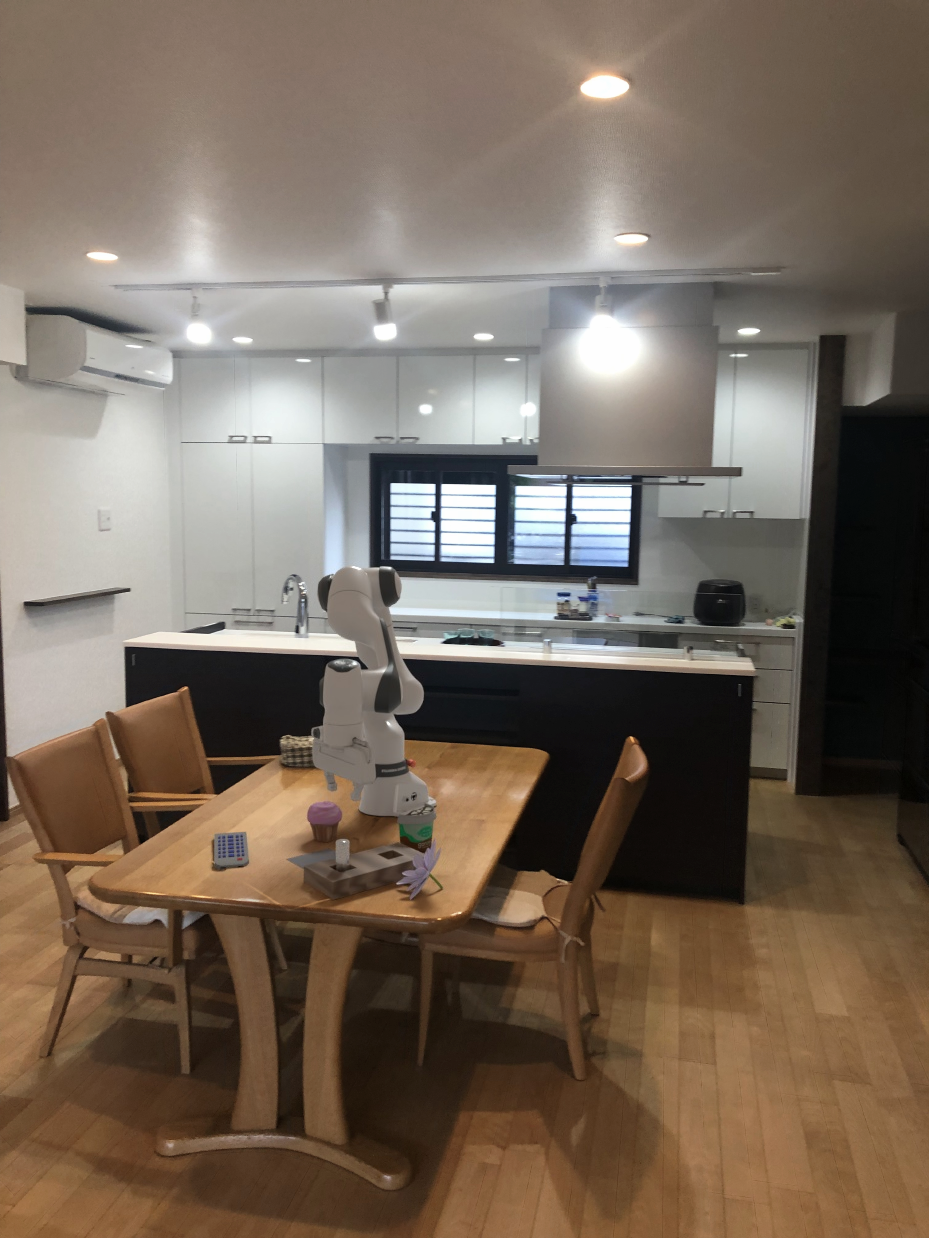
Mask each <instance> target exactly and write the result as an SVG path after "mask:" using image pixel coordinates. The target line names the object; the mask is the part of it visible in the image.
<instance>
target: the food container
mask: <svg viewBox="0 0 929 1238" xmlns="http://www.w3.org/2000/svg"><path fill="white" fill-rule="evenodd" d="M437 817H438V816H437V813H436V809H435V806H432V805H430V804H426V803H425V804H424V807H423V808H421V809H418V810H413V811H411V812H410V813H408V814H407V815H400V814H399V816H398V817H397V821H396V822H397V824H398V830H399V832H398V833H399V843H401V844H403V845H406V846H408V847H410V848H412V849H415V850H417V851H419V852H421V853H423V854H425V852H426V850H427V848H429V849H431V845H432V843H433V831H434V821H435V820H436V819H437Z"/></svg>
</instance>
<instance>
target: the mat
mask: <svg viewBox="0 0 929 1238" xmlns="http://www.w3.org/2000/svg"><path fill="white" fill-rule="evenodd" d="M334 858H336V850H334V849H331V848H325V849H322V850H321V849H320V850H316V851H313V852H309V853H306V854H305V853H304V854H300V855H297V856H292V857H289V858H286V861H289V862H290V863H292V864H294V865H295V866H298V867H299V868H301V869H303V870H304V866H306V865H310V864H314V863H318V862H322V861H326V860H330V859H334Z"/></svg>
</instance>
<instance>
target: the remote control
mask: <svg viewBox="0 0 929 1238" xmlns="http://www.w3.org/2000/svg"><path fill="white" fill-rule="evenodd" d="M247 834H248V833H247V831H238V832H237V831H235V832H222V833H221V832H220V833H214V835H213V836H214V837H213V839H214V845H213V846H214V847H213V849H214V852H213V854H214V856H213V859H214V860H213V861H214V864H213V865H214V867H215V869H216V870H218V869H219V871H226V869H230V868H231V869H233V868H238V867H247V866H248V865H249V864H250V856H249V855H250V854H249V845H248V837H247Z"/></svg>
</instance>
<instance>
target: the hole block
mask: <svg viewBox="0 0 929 1238" xmlns="http://www.w3.org/2000/svg"><path fill="white" fill-rule="evenodd" d="M416 854H419V855H421V856H422V858H423V859H424V855H425V853H421V852H419V851H417V850H415V849H412V848H410V847H408V846H406V845H403V844H401V843H400V841H398V842H393V843H388V844H386V845H385V844H384V845H381V846H377V847H373V848H370V849H365V850H362V851H357V852H354V853H349V870H348V871H344V872H338V871H336V858H334V859H330V860H326V861H322V862H318V863H314V864H310V865H306V866H304V869H303V883H305V884H307V885H308V886H311V887H312V888H313V889H315V890H317V891H318V892H320V893H322V894H324V895H325V896H327V897H328V899H330V900H331V901H334V900H337V899H342V898H345V897H348V896H353V895H355V894H359V893H363V892H365V891H370V890H373V889H377V888H380V887H383V886H386V885H390V884H393V883H398V882H399V881H400V880H402V879H404V877H408V876H406V875H404V874H402V873H403V872H405V871H408V870H416V869H417V868H416V867H415V866H414V864H413V856H416Z"/></svg>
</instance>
